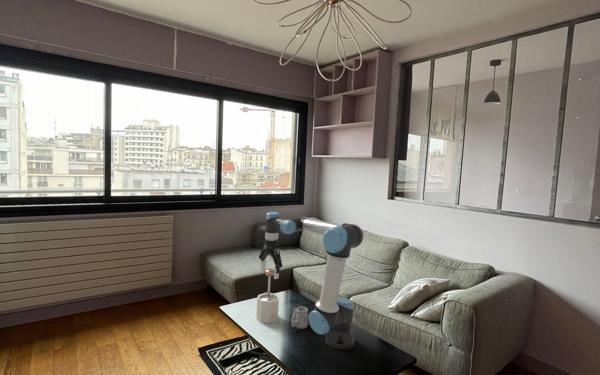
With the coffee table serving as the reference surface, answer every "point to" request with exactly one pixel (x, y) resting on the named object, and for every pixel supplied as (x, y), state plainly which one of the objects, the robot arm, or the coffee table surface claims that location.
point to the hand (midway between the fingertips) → (269, 274)
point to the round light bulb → (269, 298)
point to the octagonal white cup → (267, 309)
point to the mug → (300, 318)
